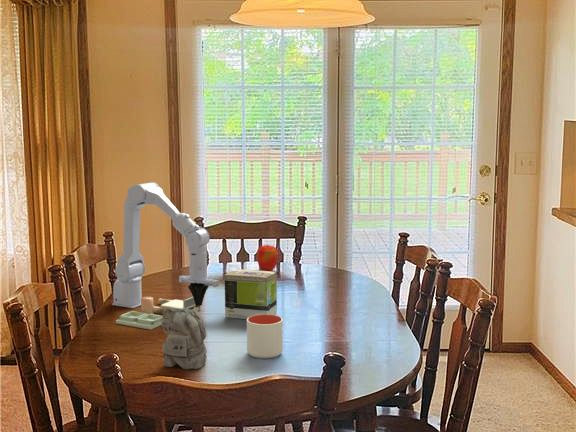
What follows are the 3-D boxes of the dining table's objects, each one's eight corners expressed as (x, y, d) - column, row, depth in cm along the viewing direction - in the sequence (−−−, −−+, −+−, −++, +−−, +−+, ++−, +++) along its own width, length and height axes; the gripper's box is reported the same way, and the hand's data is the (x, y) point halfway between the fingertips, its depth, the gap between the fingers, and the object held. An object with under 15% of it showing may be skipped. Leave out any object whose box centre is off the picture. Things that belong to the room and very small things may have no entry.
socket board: (115, 323, 221) (115, 316, 220) (134, 316, 229) (134, 309, 228) (150, 329, 214) (150, 322, 214) (168, 321, 222) (168, 315, 222)
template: (142, 310, 235) (142, 305, 235) (160, 303, 244) (160, 298, 244) (183, 317, 228) (182, 311, 227) (200, 309, 236) (200, 304, 236)
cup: (246, 348, 198) (246, 314, 196) (281, 347, 198) (281, 313, 197) (247, 360, 188) (247, 325, 186) (284, 359, 189) (284, 324, 187)
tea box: (277, 313, 232) (277, 270, 230) (266, 322, 222) (266, 277, 220) (236, 309, 237) (235, 267, 234) (224, 317, 227) (223, 273, 225)
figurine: (174, 355, 191) (173, 303, 189) (211, 359, 188) (211, 306, 186) (157, 368, 182) (155, 313, 180) (196, 373, 179) (195, 317, 176)
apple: (257, 273, 290) (257, 245, 288) (256, 269, 298) (255, 241, 297) (279, 273, 290) (279, 245, 289) (277, 268, 299) (277, 241, 298)
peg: (138, 316, 228) (138, 298, 228) (146, 313, 232) (146, 296, 231) (148, 318, 227) (148, 300, 226) (156, 314, 230) (155, 297, 229)
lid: (160, 306, 233) (160, 297, 232) (175, 300, 240) (174, 292, 239) (184, 310, 228) (183, 301, 228) (198, 304, 235) (197, 295, 235)
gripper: (173, 265, 228) (173, 305, 230) (209, 270, 221) (210, 311, 223) (185, 261, 234) (186, 300, 236) (221, 265, 228) (222, 305, 230)
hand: (198, 305), depth 230 cm, fingers closed
